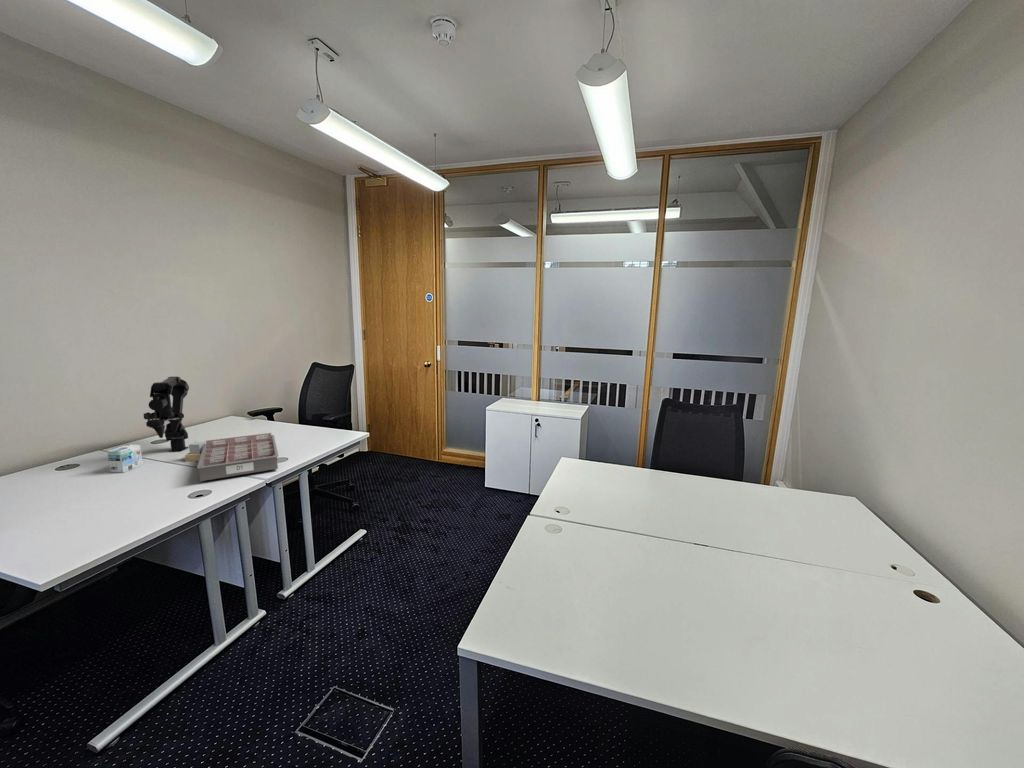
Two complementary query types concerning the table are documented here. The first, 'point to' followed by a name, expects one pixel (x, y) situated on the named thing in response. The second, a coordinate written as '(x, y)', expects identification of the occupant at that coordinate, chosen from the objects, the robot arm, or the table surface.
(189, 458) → the oak block
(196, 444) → the stone cube
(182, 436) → the robot arm
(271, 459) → the organizer tray
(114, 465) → the light bulb box
